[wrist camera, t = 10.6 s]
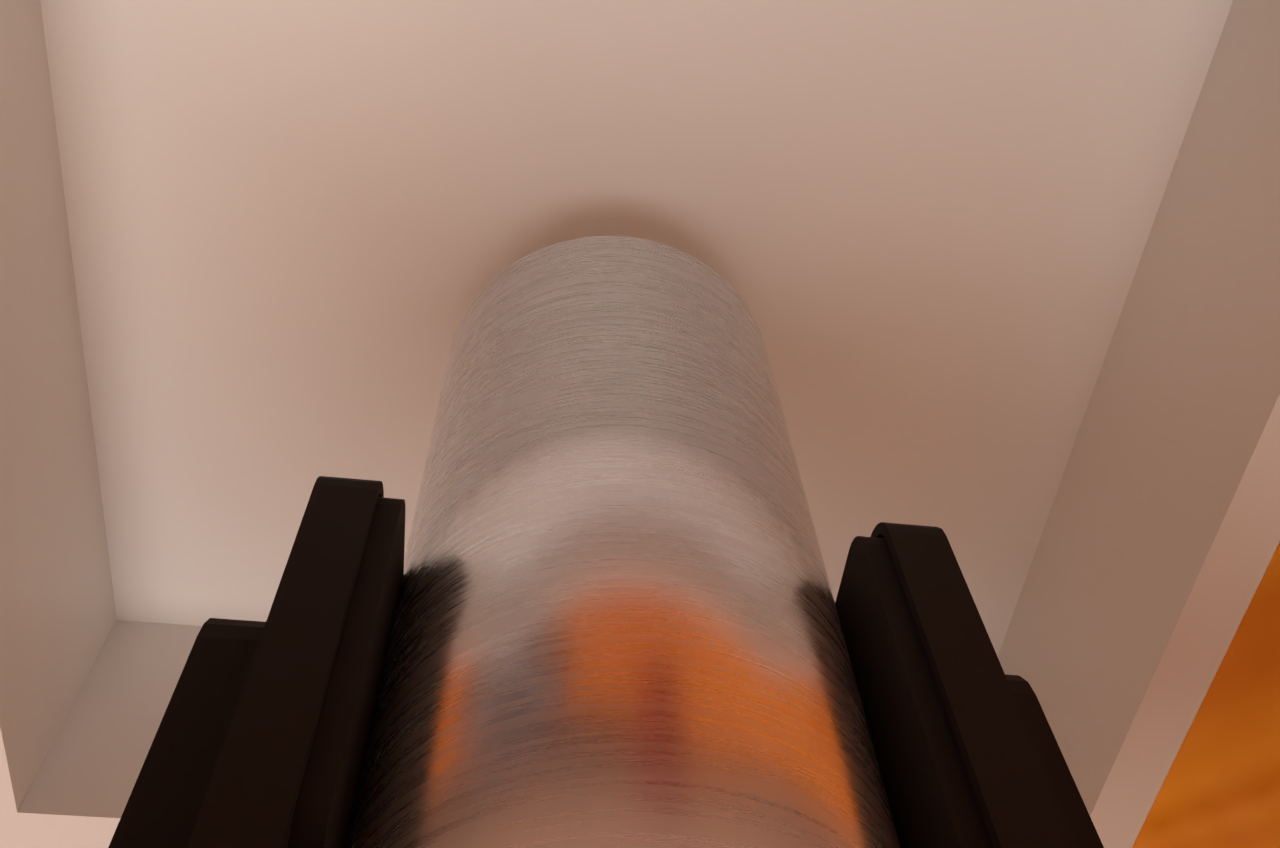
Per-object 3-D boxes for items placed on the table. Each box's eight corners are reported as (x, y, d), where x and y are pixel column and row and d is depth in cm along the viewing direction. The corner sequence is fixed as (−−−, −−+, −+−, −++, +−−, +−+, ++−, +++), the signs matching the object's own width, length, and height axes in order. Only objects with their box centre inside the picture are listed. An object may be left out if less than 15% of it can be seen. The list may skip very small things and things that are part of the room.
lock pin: (796, 253, 14) (1324, 1689, 4) (740, 529, 16) (998, 1955, 6) (454, 218, 14) (66, 1701, 4) (441, 504, 16) (166, 1977, 6)
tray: (1333, -168, 15) (1600, -121, 11) (1010, 695, 22) (1100, 911, 18) (-58, -364, 13) (-328, -391, 9) (83, 630, 20) (-37, 850, 16)
